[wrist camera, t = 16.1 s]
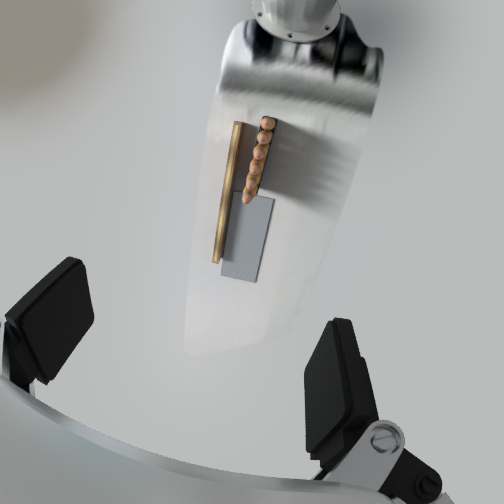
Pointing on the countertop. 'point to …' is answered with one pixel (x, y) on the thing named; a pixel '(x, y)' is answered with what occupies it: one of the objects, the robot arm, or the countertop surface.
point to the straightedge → (227, 189)
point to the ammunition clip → (259, 158)
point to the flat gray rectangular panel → (245, 237)
